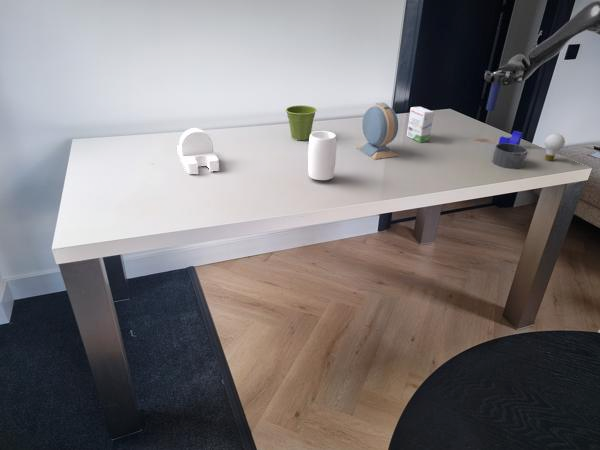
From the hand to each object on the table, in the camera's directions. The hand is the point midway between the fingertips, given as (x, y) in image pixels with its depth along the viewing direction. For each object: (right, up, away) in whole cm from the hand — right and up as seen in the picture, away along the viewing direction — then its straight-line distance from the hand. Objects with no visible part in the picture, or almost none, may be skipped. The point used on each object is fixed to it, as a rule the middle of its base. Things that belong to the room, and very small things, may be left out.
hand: (495, 80), depth 153 cm
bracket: (-104, -31, -10) cm, 109 cm away
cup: (-64, -37, -19) cm, 76 cm away
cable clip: (+7, -24, +8) cm, 26 cm away
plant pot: (-70, -18, +14) cm, 74 cm away
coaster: (+1, -20, +14) cm, 24 cm away
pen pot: (+1, -31, -6) cm, 31 cm away
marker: (+2, -9, +8) cm, 11 cm away
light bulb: (+18, -30, -2) cm, 35 cm away
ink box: (-23, -18, +17) cm, 34 cm away
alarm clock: (-42, -25, +3) cm, 49 cm away
